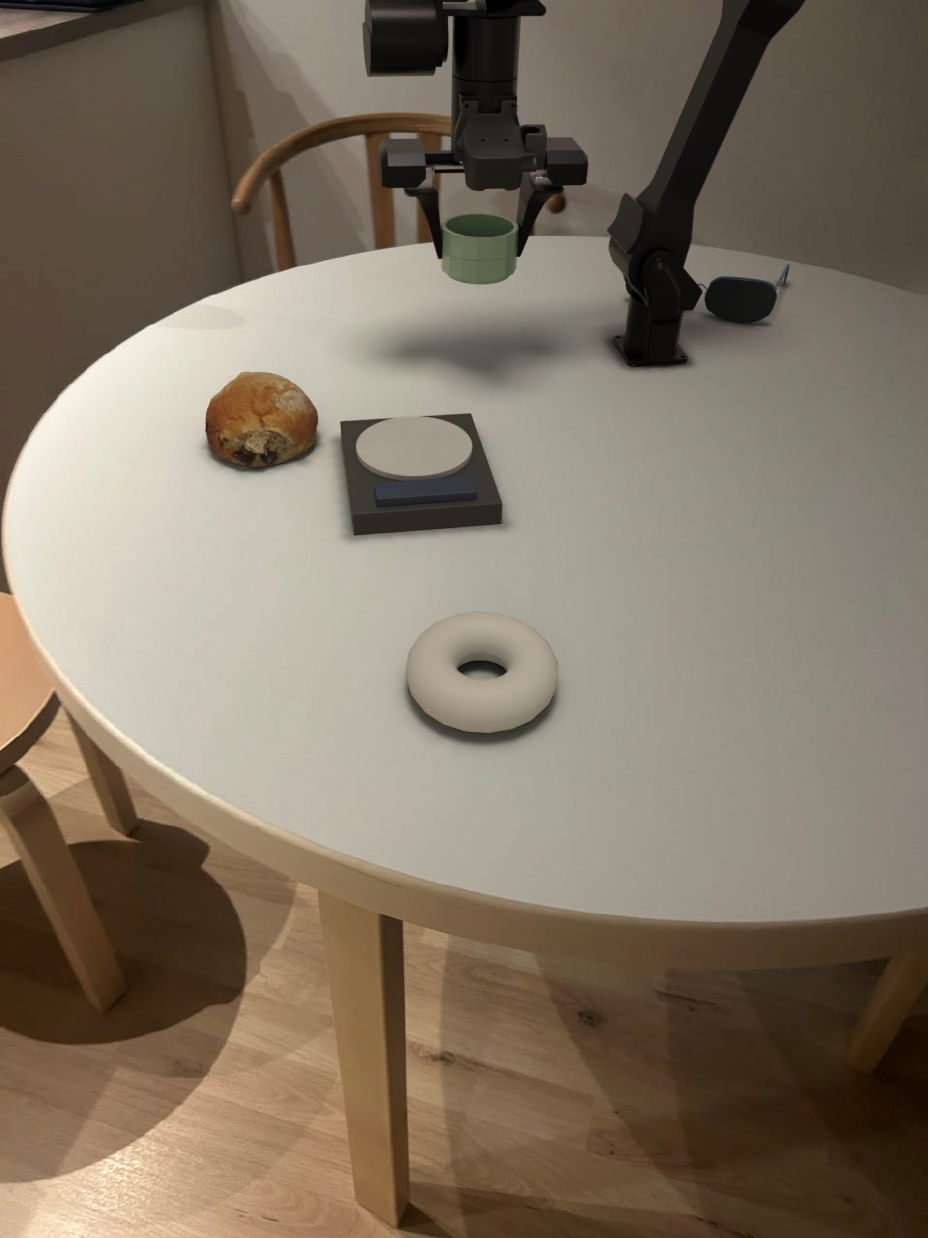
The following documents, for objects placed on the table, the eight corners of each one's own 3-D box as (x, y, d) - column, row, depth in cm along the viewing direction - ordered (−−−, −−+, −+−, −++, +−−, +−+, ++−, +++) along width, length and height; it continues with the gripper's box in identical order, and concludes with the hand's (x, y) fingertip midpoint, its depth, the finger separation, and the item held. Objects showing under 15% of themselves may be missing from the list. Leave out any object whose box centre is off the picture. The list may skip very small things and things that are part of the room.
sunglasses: (620, 302, 113) (627, 258, 110) (648, 276, 125) (655, 236, 122) (768, 328, 108) (779, 283, 106) (783, 299, 120) (793, 257, 117)
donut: (543, 636, 68) (402, 640, 67) (548, 598, 66) (402, 602, 65) (567, 742, 60) (408, 747, 59) (573, 703, 58) (408, 708, 57)
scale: (341, 440, 88) (339, 412, 86) (470, 431, 89) (471, 404, 87) (353, 535, 76) (352, 505, 75) (501, 523, 78) (503, 494, 76)
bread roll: (332, 471, 90) (346, 386, 88) (271, 479, 81) (285, 383, 78) (244, 447, 93) (255, 363, 91) (176, 451, 84) (186, 358, 81)
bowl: (436, 259, 96) (437, 213, 93) (508, 257, 97) (510, 211, 94) (445, 287, 91) (446, 239, 88) (521, 285, 92) (524, 237, 89)
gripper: (384, 97, 76) (388, 291, 86) (613, 96, 78) (591, 285, 88) (374, 67, 84) (379, 247, 94) (581, 67, 86) (565, 243, 96)
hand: (478, 256), depth 93 cm, fingers closed on bowl, 7 cm apart
